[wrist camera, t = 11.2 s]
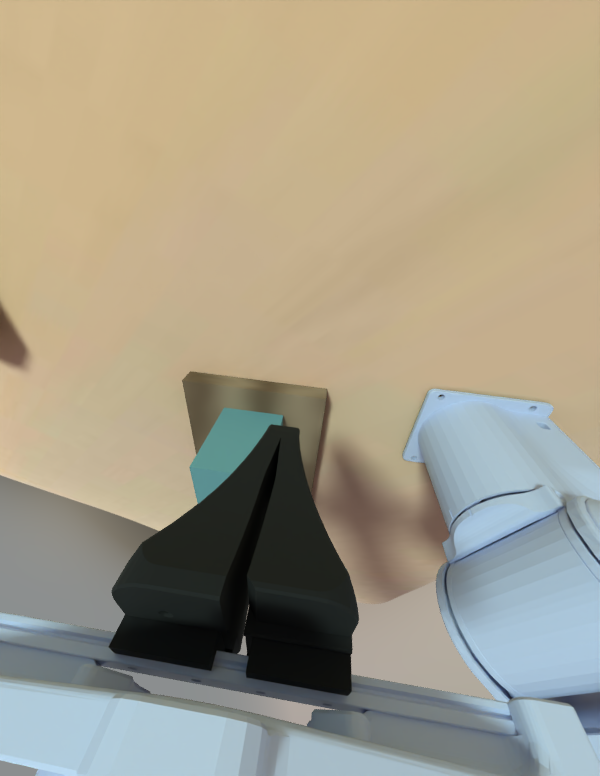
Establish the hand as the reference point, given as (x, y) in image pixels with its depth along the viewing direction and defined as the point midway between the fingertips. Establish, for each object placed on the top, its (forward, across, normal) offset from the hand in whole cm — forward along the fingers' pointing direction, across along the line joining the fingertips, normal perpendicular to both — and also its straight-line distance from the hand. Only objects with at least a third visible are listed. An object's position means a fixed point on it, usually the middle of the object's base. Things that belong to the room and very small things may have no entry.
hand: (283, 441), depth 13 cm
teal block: (+9, +4, +8) cm, 13 cm away
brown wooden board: (+10, +4, +15) cm, 19 cm away
